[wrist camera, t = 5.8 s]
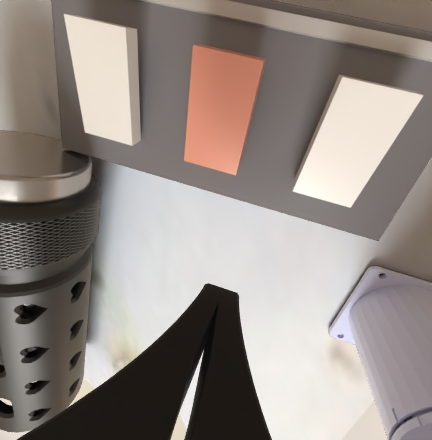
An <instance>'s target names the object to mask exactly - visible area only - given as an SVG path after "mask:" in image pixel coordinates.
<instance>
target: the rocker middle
mask: <svg viewBox="0 0 432 440" xmlns="http://www.w3.org/2000/svg"><path fill="white" fill-rule="evenodd" d="M265 62H266V59H264V58H260V57H255V56H251V55H246V54H242V53H238V52H233V51H229V50H224V49H220V48H215V47H211V46H207V45H202V44H196V45H193V51H192V64H191V77H190V90H189V103H188V116H187V129H186V142H185V155H184V161H187V162H190V163H194V164H197V165H201V166H204V167H208V168H211V169H215V170H218V171H222V172H225V173H229V174H233V175H236V174H237V172H238V170H239V167H240V163H241V159H242V155H243V151H244V147H245V143H246V139H247V135H248V131H249V127H250V123H251V119H252V115H253V111H254V107H255V103H256V99H257V95H258V91H259V87H260V83H261V79H262V75H263V71H264V66H265Z"/></svg>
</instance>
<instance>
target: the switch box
mask: <svg viewBox="0 0 432 440" xmlns="http://www.w3.org/2000/svg"><path fill="white" fill-rule="evenodd" d="M52 14H53V27H54V41H55V54H56V68H57V82H58V95H59V109H60V122H61V136H62V148H65V149H68V150H72V151H75V152H78V153H82V154H85V155H89V156H92V157H95V158H99V159H102V160H105V161H109V162H112V163H116V164H119V165H122V166H126V167H129V168H133V169H136V170H139V171H143V172H146V173H149V174H153V175H156V176H160V177H163V178H166V179H170V180H173V181H177V182H180V183H183V184H187V185H190V186H193V187H197V188H200V189H204V190H207V191H210V192H214V193H217V194H221V195H224V196H227V197H231V198H234V199H237V200H241V201H244V202H248V203H251V204H254V205H258V206H261V207H265V208H268V209H271V210H275V211H278V212H281V213H285V214H288V215H292V216H295V217H298V218H302V219H305V220H309V221H312V222H315V223H319V224H322V225H325V226H329V227H332V228H336V229H339V230H342V231H346V232H349V233H353V234H356V235H359V236H363V237H366V238H369V239H373V240H376V241H379V239H380V238H381V236H382V234H383V233H384V231H385V230H386V228H387V226H388V225H389V223H390V222H391V220H392V219H393V217H394V215H395V214H396V212H397V211H398V209H399V207H400V206H401V204H402V203H403V201H404V200H405V198H406V196H407V195H408V193H409V192H410V190H411V188H412V187H413V185H414V184H415V182H416V181H417V179H418V177H419V176H420V174H421V173H422V171H423V169H424V168H425V166H426V165H427V163H428V162H429V160H430V158H431V157H432V32H428V31H423V30H418V29H413V28H408V27H403V26H398V25H393V24H388V23H382V22H377V21H372V20H367V19H362V18H357V17H352V16H347V15H342V14H337V13H332V12H327V11H322V10H317V9H312V8H307V7H302V6H297V5H292V4H287V3H282V2H277V1H272V0H52ZM64 14H69V15H77V16H82V17H86V18H91V19H95V20H100V21H104V22H109V23H113V24H117V25H122V26H126V27H131V28H135V29H137V41H138V71H139V102H140V132H141V141H139V142H138V143H136V144H134V145H133V146H131V145H128V144H124V143H121V142H117V141H114V140H110V139H107V138H103V137H99V136H96V135H92V134H89V133H85V130H84V124H83V118H82V113H81V107H80V102H79V96H78V91H77V85H76V80H75V74H74V68H73V63H72V57H71V52H70V46H69V41H68V35H67V29H66V24H65V18H64ZM196 44H202V45H207V46H211V47H215V48H220V49H224V50H229V51H233V52H238V53H242V54H246V55H251V56H255V57H260V58H264V59H266V62H265V66H264V71H263V75H262V79H261V83H260V87H259V91H258V95H257V99H256V103H255V107H254V111H253V115H252V119H251V123H250V127H249V131H248V135H247V139H246V143H245V147H244V151H243V155H242V159H241V163H240V167H239V170H238V172H237V174H236V175H233V174H229V173H225V172H222V171H218V170H215V169H211V168H208V167H204V166H201V165H197V164H194V163H190V162H187V161H184V155H185V142H186V129H187V116H188V103H189V90H190V77H191V64H192V51H193V45H196ZM339 75H343V76H348V77H352V78H357V79H361V80H366V81H370V82H374V83H379V84H383V85H388V86H392V87H397V88H401V89H406V90H410V91H414V92H417V93H419V94H422V95H424V96H423V97H422V99H421V100H420V102H419V103H418V105H417V107H416V108H415V110H414V111H413V113H412V114H411V116H410V117H409V119H408V120H407V122H406V123H405V125H404V127H403V128H402V130H401V131H400V133H399V134H398V136H397V137H396V139H395V140H394V142H393V143H392V145H391V146H390V148H389V150H388V151H387V153H386V154H385V156H384V157H383V159H382V160H381V162H380V163H379V165H378V166H377V168H376V170H375V171H374V173H373V174H372V176H371V177H370V179H369V180H368V182H367V183H366V185H365V186H364V188H363V189H362V191H361V193H360V194H359V196H358V197H357V199H356V200H355V202H354V203H353V205H352V206H351V208H349V207H346V206H342V205H339V204H335V203H332V202H328V201H325V200H321V199H318V198H314V197H311V196H307V195H304V194H300V193H297V192H293V182H294V179H295V177H296V175H297V172H298V170H299V168H300V165H301V163H302V160H303V158H304V156H305V153H306V151H307V149H308V146H309V144H310V142H311V139H312V137H313V135H314V132H315V130H316V128H317V125H318V123H319V121H320V118H321V116H322V114H323V111H324V109H325V106H326V104H327V102H328V99H329V97H330V95H331V92H332V90H333V88H334V85H335V83H336V81H337V78H338V76H339Z"/></svg>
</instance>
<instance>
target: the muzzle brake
mask: <svg viewBox="0 0 432 440" xmlns="http://www.w3.org/2000/svg"><path fill="white" fill-rule="evenodd" d="M100 203H101V188H100V185H99V183H98V182H97V180H96V178H95V176H94V175H93V174H92V160H91V158H90V156H89V155H85V154H82V153H78V152H75V151H72V150H68V149H65V148H62V141H61V140H58V139H54V138H50V137H46V136H41V135H36V134H30V133H24V132H16V131H6V130H0V398H4V399H7V400H10V401H11V402H12V406H10V405H7V404H5V403H4V402H2V401H1V400H0V429H1V430H4V431H7V432H24V431H29V430H32V429H35V428H36V427H38V426H40V425H41V424H43V423H44V422H46V421H48V420H49V419H51V418H53V417H54V416H56V415H57V414H59V413H60V412H62V411H64V410H65V409H66V408H67V407H68V406H69V405H70V403H71V402H72V401H73V400H74V398H75V397H76V395H77V393H78V392H79V389H80V387H81V384H82V380H83V375H84V362H85V349H86V336H87V322H88V309H89V296H90V282H91V269H92V256H93V251H92V245H91V243H92V242H93V240H94V239H95V237H96V235H97V232H98V227H99V215H100ZM33 381H37V382H34V383H31V382H33Z"/></svg>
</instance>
